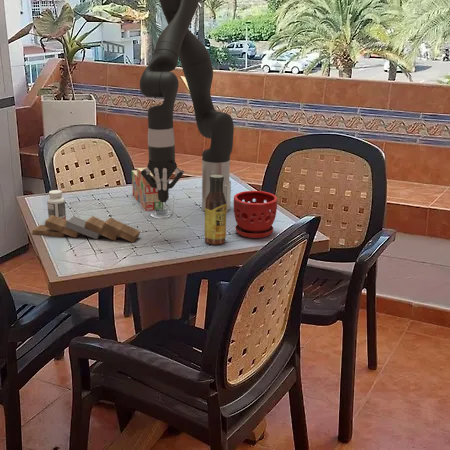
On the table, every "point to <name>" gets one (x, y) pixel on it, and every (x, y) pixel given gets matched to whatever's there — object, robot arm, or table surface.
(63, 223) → the walnut domino
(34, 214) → the table surface
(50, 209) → the pill bottle
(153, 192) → the stack of blocks
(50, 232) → the walnut domino
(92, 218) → the walnut domino
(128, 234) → the walnut domino
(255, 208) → the plant pot
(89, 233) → the charcoal domino
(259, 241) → the table surface
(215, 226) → the sauce bottle
